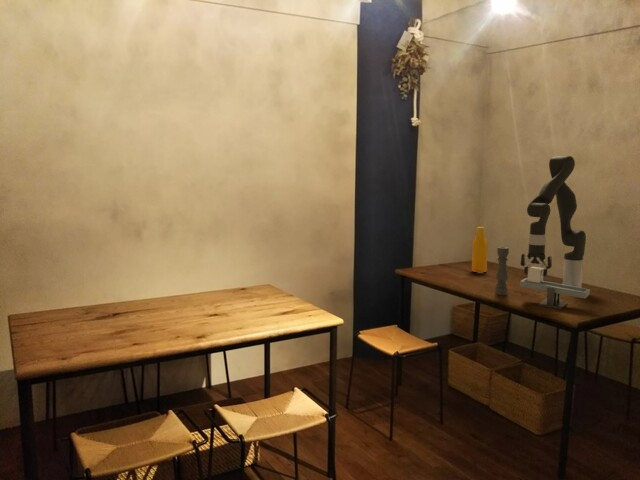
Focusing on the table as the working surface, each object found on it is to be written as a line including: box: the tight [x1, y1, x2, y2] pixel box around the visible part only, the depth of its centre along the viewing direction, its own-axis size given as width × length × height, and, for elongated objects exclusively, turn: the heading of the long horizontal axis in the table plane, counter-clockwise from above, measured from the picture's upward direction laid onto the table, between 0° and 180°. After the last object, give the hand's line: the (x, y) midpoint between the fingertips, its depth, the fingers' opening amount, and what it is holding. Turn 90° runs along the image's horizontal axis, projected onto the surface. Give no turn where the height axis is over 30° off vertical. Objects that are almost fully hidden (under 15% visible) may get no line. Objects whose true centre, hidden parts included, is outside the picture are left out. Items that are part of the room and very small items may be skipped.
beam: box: [519, 277, 591, 299], centre depth 258 cm, size 9×30×3 cm, turn 52°
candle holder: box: [494, 246, 510, 296], centre depth 280 cm, size 6×6×25 cm
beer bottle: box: [471, 226, 488, 273], centre depth 336 cm, size 9×9×29 cm
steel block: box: [526, 266, 545, 284], centre depth 263 cm, size 6×6×8 cm
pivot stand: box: [538, 288, 568, 310], centre depth 259 cm, size 12×10×9 cm
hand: (535, 275), depth 263 cm, fingers open, 8 cm apart
